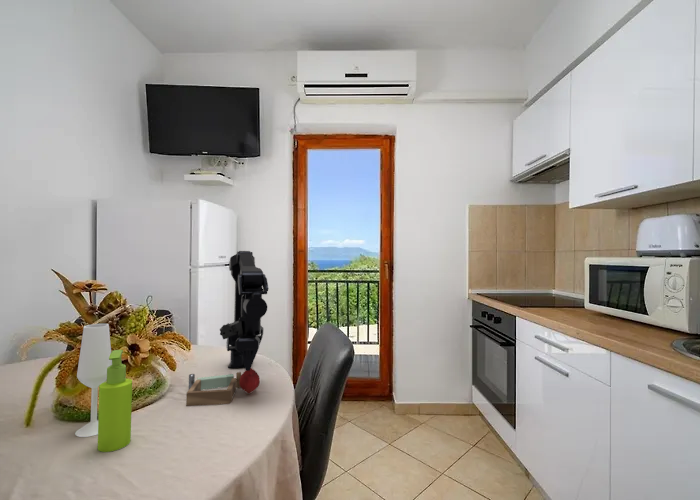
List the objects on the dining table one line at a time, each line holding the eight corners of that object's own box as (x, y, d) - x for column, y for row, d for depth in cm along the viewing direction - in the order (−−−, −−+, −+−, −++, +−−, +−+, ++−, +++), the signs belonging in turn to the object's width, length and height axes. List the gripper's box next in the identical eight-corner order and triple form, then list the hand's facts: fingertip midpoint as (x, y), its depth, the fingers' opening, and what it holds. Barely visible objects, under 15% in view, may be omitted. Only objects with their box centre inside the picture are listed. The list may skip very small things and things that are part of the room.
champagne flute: (104, 419, 85) (107, 321, 85) (116, 428, 81) (118, 325, 82) (70, 430, 80) (73, 326, 80) (81, 440, 76) (84, 330, 76)
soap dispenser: (94, 457, 69) (96, 357, 70) (100, 441, 76) (102, 348, 76) (128, 450, 72) (131, 353, 72) (131, 434, 78) (134, 346, 79)
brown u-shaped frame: (198, 388, 106) (198, 373, 106) (241, 386, 108) (241, 372, 108) (186, 406, 93) (186, 389, 94) (234, 403, 96) (235, 387, 96)
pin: (189, 388, 105) (189, 373, 105) (194, 388, 106) (195, 373, 106) (187, 390, 104) (188, 375, 104) (193, 390, 104) (193, 375, 104)
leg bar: (233, 383, 110) (233, 373, 110) (233, 386, 108) (233, 376, 108) (196, 387, 106) (197, 377, 106) (196, 390, 104) (196, 380, 104)
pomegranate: (262, 390, 105) (262, 363, 105) (255, 397, 99) (255, 369, 100) (243, 389, 106) (244, 362, 106) (235, 396, 100) (236, 368, 100)
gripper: (228, 308, 111) (227, 357, 111) (215, 318, 93) (214, 377, 92) (264, 307, 113) (263, 355, 113) (258, 318, 94) (257, 375, 94)
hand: (249, 365), depth 103 cm, fingers open, 9 cm apart
